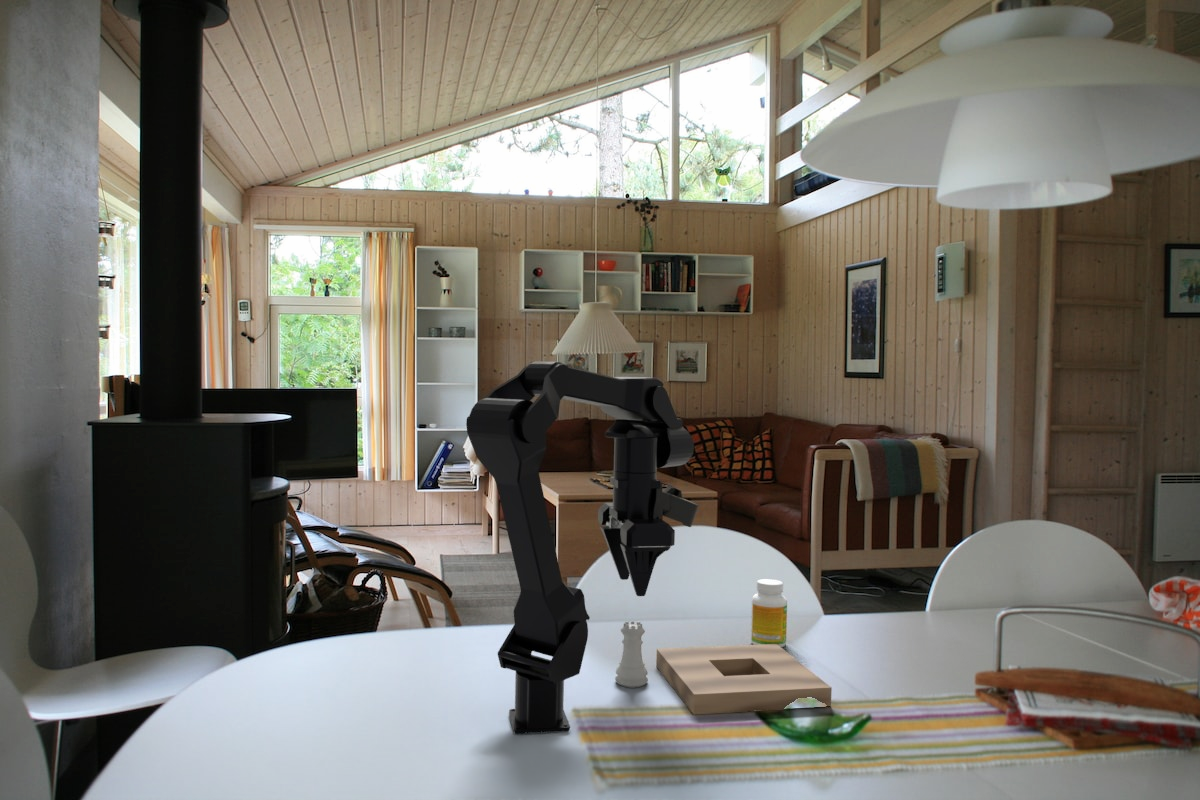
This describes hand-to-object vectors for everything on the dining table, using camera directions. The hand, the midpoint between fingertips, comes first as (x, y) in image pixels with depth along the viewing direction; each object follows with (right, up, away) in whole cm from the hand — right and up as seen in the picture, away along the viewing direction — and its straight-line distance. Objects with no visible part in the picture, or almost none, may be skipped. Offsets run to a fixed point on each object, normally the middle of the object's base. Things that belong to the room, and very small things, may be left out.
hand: (632, 587), depth 119 cm
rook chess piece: (0, -13, 0) cm, 13 cm away
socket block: (+14, -13, 0) cm, 19 cm away
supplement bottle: (+22, -13, +19) cm, 32 cm away
